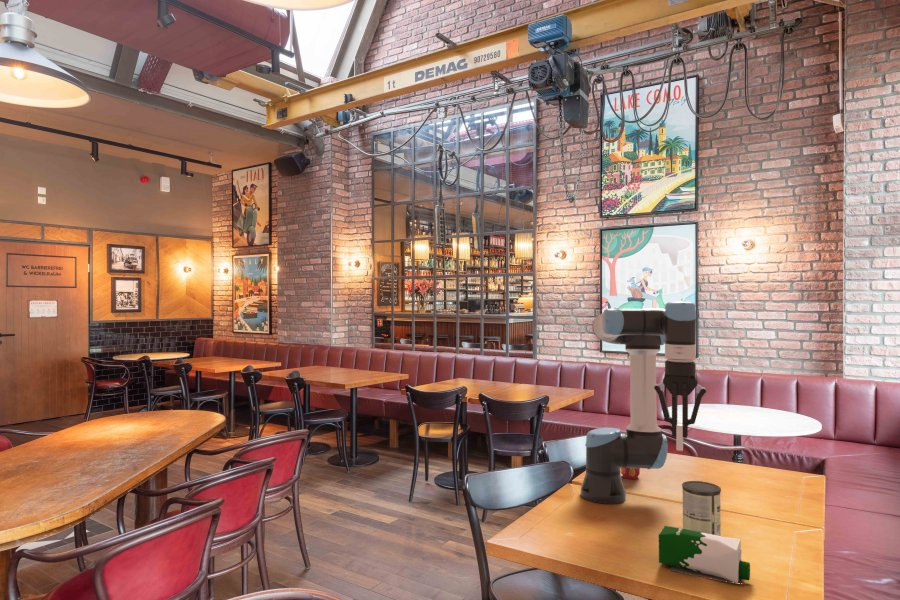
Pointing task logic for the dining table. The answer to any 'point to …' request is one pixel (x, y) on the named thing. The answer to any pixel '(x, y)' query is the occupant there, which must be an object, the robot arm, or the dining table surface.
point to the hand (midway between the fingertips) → (679, 449)
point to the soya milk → (703, 553)
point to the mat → (700, 574)
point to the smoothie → (630, 473)
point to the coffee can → (701, 507)
